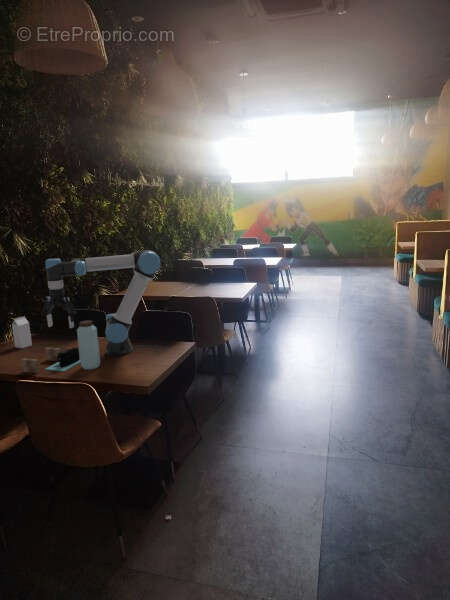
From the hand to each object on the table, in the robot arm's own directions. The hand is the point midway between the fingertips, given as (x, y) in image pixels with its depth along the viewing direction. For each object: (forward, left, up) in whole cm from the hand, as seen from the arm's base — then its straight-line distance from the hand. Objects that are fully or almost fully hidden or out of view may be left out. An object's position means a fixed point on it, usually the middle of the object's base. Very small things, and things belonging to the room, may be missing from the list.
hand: (61, 327), depth 223 cm
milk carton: (+49, -23, -22) cm, 58 cm away
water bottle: (-16, 0, -22) cm, 27 cm away
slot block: (+12, +4, -22) cm, 25 cm away
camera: (0, -1, -21) cm, 21 cm away
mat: (0, 0, -22) cm, 22 cm away
